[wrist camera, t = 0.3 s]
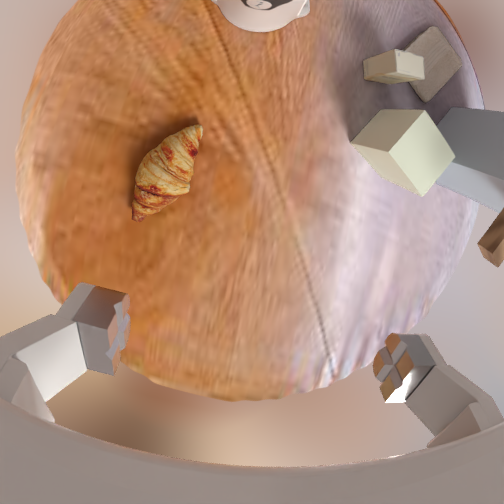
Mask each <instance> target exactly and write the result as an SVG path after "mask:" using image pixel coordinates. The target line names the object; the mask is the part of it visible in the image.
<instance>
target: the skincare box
mask: <svg viewBox="0 0 504 504" xmlns="http://www.w3.org/2000/svg"><path fill="white" fill-rule="evenodd" d="M363 68H364V80H369V81H374V82H380V83H385V84H395V83H402V82H408V81H415V80H423V79H425V68H424V57H422V56H419V55H416V54H413V53H410V52H406V51H402V50H398V49H393V50H390V51H387V52H384V53H382V54H379V55H376V56H373V57H371V58H368V59H365V60H363Z"/></svg>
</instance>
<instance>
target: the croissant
mask: <svg viewBox="0 0 504 504" xmlns="http://www.w3.org/2000/svg"><path fill="white" fill-rule="evenodd" d="M202 132H203V128H202V126H201V125H194V126H190V127H186V128H185V129H183V130H181V131H179V132H177V133H176V134H173V135H170V136H168V137H167V138H165V139H164V140H163V141H162V143H161V144H159V145H158V147H156V148H155V149H153V150H151V151H149V152H148V153H147V155H146V156H145V157H144V158H143V160H142V161H141V163H140V166H139V168H138V170H137V173H136V177H135V183H136V184H135V189H134V196H135V199H134V200H133V202H132V214H133V215H132V220H134V221H136V222H141V221H142V220H143V219H144V218H145V217H146V216H147V215H152V214H155V213H157V212H159V211H160V210H161V209H162V208H164V207H166V205H168V204H171V203H173V202H174V201H176V199H177V198H178V197H179V196H181V195H184V194H187V193H188V192H189V189H190V180H191V178H192V176H193V174H194V171H193V164H194V160H195V158H196V156H197V154H198V146H199V141H200V139H201V137H202Z"/></svg>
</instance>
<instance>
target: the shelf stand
mask: <svg viewBox="0 0 504 504" xmlns="http://www.w3.org/2000/svg"><path fill="white" fill-rule="evenodd" d="M436 127H437V128H438V130H439V131H440V133H441V134H442V136H443V137H444V139H445V140H446V142H447V143H448V145H449V147H450V148H451V150H452V152H453V153H454V155H455V158H454V159H453V160H452V162H451V163H450V164H449V165H448V167H447V168H446V169H445V170H444V172H443V173H442V174H441V175H440V177H439V178H438V179H437V180H436V183H437V184H438V185H440V186H443V187H445V188H447V189H450V190H452V191H454V192H456V193H459V194H461V195H463V196H465V197H467V198H470V199H472V200H474V201H476V202H478V203H480V204H482V205H484V206H486V207H488V208H490V209H492V210H494V211H496V212H498V213H500V212H501V211H502V209H503V208H504V112H499V111H490V110H482V109H472V108H459V107H451V109H450V110H449V111H448V112H447V114H446V115H445V116H444V117H443V119H442V120H441V121H440V122H439V124H438V125H437V126H436Z"/></svg>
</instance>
